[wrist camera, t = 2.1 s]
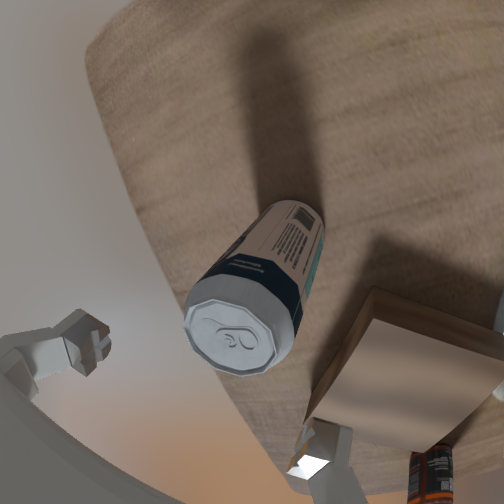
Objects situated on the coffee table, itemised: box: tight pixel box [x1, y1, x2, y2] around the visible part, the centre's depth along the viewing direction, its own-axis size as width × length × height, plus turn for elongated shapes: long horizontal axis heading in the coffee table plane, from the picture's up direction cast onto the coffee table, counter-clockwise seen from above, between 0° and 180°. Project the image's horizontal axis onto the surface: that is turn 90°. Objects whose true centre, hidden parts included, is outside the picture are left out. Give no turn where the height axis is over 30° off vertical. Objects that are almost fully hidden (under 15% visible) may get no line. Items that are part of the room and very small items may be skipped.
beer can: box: [183, 200, 325, 377], centre depth 17 cm, size 5×5×12 cm
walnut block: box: [303, 286, 504, 453], centre depth 22 cm, size 14×14×4 cm
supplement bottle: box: [407, 444, 453, 504], centre depth 23 cm, size 6×6×11 cm
